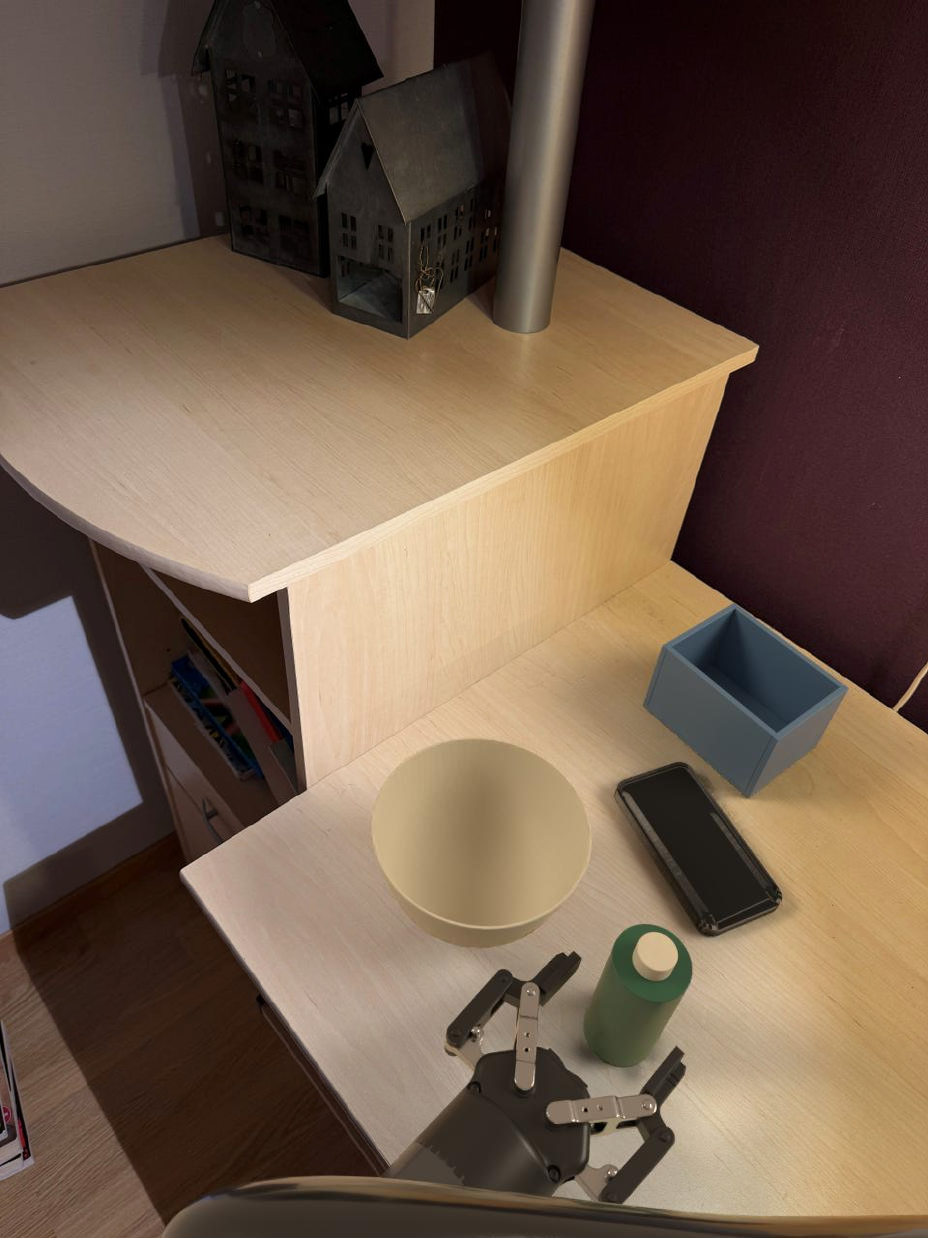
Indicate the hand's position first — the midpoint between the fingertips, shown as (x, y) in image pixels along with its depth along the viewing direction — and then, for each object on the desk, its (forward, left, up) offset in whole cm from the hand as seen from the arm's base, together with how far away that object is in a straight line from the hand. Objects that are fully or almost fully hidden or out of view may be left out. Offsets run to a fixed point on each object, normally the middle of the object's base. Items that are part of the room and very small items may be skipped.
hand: (625, 1005), depth 60 cm
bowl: (+15, 0, -7) cm, 17 cm away
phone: (+7, -18, -7) cm, 20 cm away
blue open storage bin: (+14, -31, -7) cm, 34 cm away
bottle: (0, -2, -7) cm, 7 cm away
